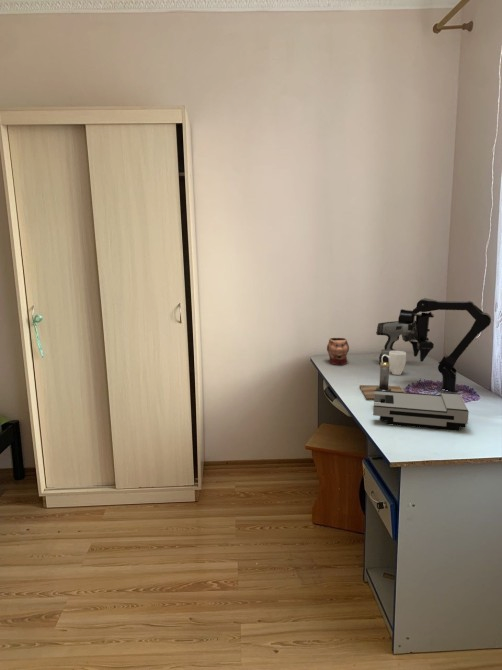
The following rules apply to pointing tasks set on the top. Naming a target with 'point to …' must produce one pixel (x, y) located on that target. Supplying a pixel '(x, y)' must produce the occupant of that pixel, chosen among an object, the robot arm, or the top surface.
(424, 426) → the retro console
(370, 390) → the board
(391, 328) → the cordless drill
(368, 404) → the top surface
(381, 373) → the grey cylinder with base
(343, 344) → the decorative planter
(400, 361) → the mug
